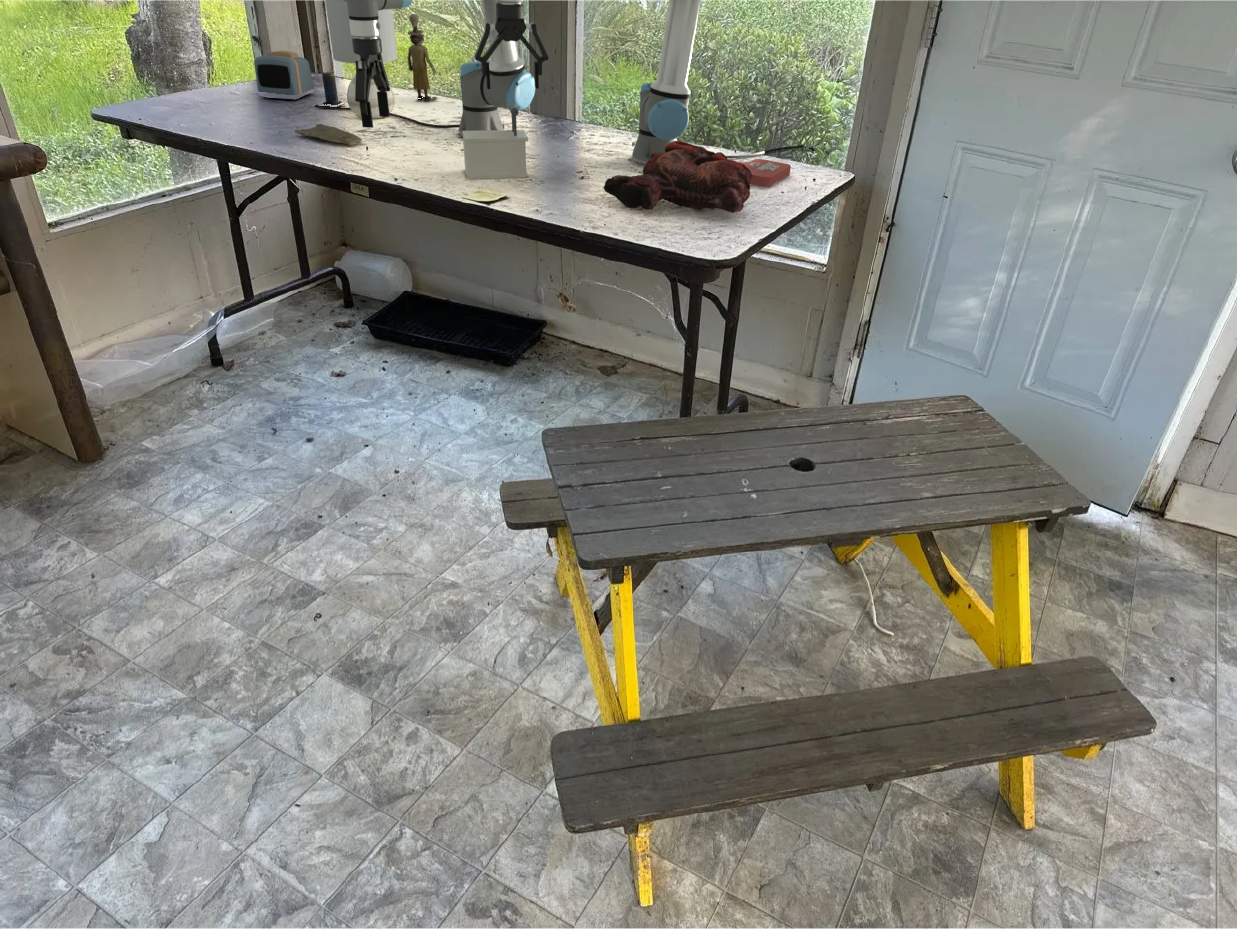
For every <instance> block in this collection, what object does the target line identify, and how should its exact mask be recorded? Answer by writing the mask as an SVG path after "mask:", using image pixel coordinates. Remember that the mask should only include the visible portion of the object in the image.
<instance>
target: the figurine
mask: <svg viewBox="0 0 1237 929" xmlns="http://www.w3.org/2000/svg"><path fill="white" fill-rule="evenodd" d="M408 18H409V21H410V24H411V26H412V30H411V31H408V32H407V34H408V35H409V39H410V42H411V44H412V45H410V46H409V47H408V50H407V51H408V53H407V65H408V71H409V72H412V76H413V78H412V87H413V90H416V93H417V99H416V101H417V102H421V101H423V102H430V101H434V100H436V99H437V97H436V96H429V95H428V94H429V93H428V90H430V87H431V85H430V81H429V76H428V75H429V74H428V66H427V65H429V68H431V71H432V74H433V76H434V77H435V75H436V72H437V71H436V70H437V69H436V68H435V66H434V64H433V63H432V61H431V59H430V57H429V52H428V48H427V47H426V46H425V45H423V44H424V42H425V35H424V31H423V30H420V29H418V25H419V20H420V18H419V15H418V14H416V13H411V14H410V15H409V16H408ZM422 91H423V93H424V95H422ZM423 96H425V97H423ZM422 97H423V98H422ZM431 97H432V98H431ZM418 98H421V99H418Z"/></svg>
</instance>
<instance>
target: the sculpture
mask: <svg viewBox="0 0 1237 929" xmlns="http://www.w3.org/2000/svg"><path fill="white" fill-rule="evenodd" d="M726 156H727V155H726V154H724V153H723V152H720V151H719V152H717V151H716V152H714V151H711V150H708V149H706V148H705V147H704V146H702V145H695V144H692V143H689V142H686V141H684V140H680V139H677V141H673V142H671V143H669V144H668V145H667V146H666V147H665V153H664V152H660V153H658V152H657V153H653V154H652V155H651V157H650V158H651V159H650V160H648V162H647V163H646V165H645V166H643V168H642V174H638V175H621V174H617V175H613V176H612V177H608V178H607V179H606V180H605V181H604V184H603V185H604V186H603V190H604V192H605V193H606V194H608V195H609V196H610V195H611V196H613V197H615V198H616V199H617V200H618V201H619V202H620V203H621V204H622V205H623V206H625V207H626V208H628V209H636V208H637V209H638V208H641V209H643V210H647V211H649V210H654V208H655V207H657V205H658V203H659V202H660V201H665V202H668V203H669V204H671V203H672V204H674V205H675V206H678V207H681V208H689V209H692V210H696V211H704V209H707V210H715V209H717V210H721V211H725V212H728V213H732V214H734V213H740V212H741V211H743V210H744V207H745V205H744V204H745V203H746V202H747V201H748V200H749V198H750V196H751V190H750V189H751V184H750V180H751V178H752V173H751V171H750V169H749V168H747V167H746V166H745V165H744V164H742V163H740V162H741V161H737V160H733V159H731V158H726Z"/></svg>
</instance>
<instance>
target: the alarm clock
mask: <svg viewBox="0 0 1237 929" xmlns="http://www.w3.org/2000/svg"><path fill="white" fill-rule="evenodd" d="M253 65H254V72H255V77H256V78H255V79H256V86H257V92H258V91H259V92H267V93H276V94H285V95H299V94H302V93H304V92H307V91H309V90H311V89H314V90H315V85H314V81H313V76H312V72H311V67H310V62H309V60H307V59H306V58H305V57H302V56H299V55H298V53H296V52H293V51H289V50H275V51H269V52H266V55H261V56H257V57H256V58H254V60H253Z"/></svg>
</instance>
